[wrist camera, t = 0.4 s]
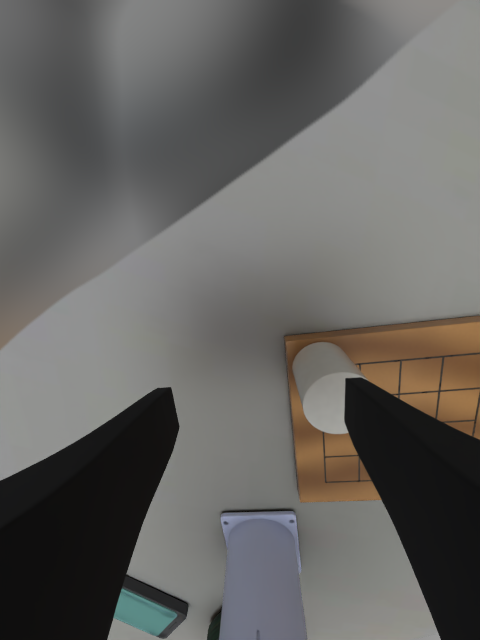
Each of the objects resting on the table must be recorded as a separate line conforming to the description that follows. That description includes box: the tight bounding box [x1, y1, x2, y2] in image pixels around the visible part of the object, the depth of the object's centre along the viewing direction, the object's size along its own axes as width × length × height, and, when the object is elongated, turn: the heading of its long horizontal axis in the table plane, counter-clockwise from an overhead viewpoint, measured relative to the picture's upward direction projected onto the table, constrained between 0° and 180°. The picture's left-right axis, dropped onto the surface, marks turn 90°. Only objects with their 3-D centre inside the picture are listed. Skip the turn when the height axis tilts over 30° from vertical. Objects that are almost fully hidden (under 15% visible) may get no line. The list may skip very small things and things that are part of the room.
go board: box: [284, 316, 480, 502], centre depth 20 cm, size 17×17×1 cm
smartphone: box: [113, 576, 188, 639], centre depth 31 cm, size 7×1×15 cm
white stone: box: [292, 342, 369, 434], centre depth 16 cm, size 4×4×5 cm
